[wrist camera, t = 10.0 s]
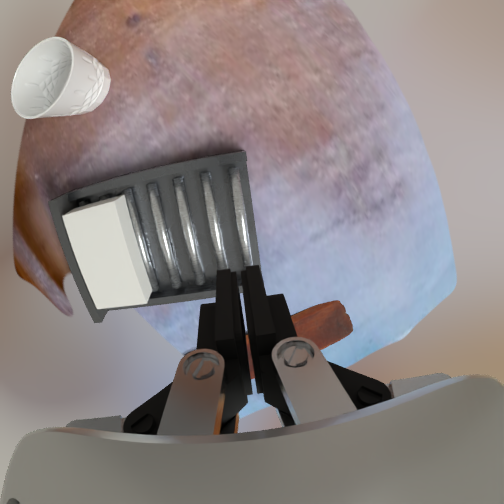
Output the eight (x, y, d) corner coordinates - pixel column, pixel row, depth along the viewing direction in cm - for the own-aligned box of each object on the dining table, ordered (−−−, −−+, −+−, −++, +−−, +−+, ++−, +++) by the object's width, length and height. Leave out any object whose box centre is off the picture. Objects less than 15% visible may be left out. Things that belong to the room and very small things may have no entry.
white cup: (126, 62, 22) (87, 37, 13) (101, 124, 25) (54, 124, 16) (75, 55, 20) (29, 37, 11) (53, 113, 23) (2, 114, 14)
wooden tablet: (209, 388, 44) (209, 395, 42) (178, 353, 40) (177, 361, 38) (354, 334, 42) (358, 340, 40) (342, 289, 37) (347, 295, 36)
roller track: (69, 191, 27) (48, 201, 23) (244, 150, 28) (247, 152, 24) (106, 301, 34) (94, 322, 30) (262, 279, 35) (267, 301, 30)
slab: (74, 208, 27) (62, 215, 24) (124, 194, 27) (114, 201, 24) (105, 296, 31) (97, 309, 29) (152, 289, 32) (146, 303, 29)
